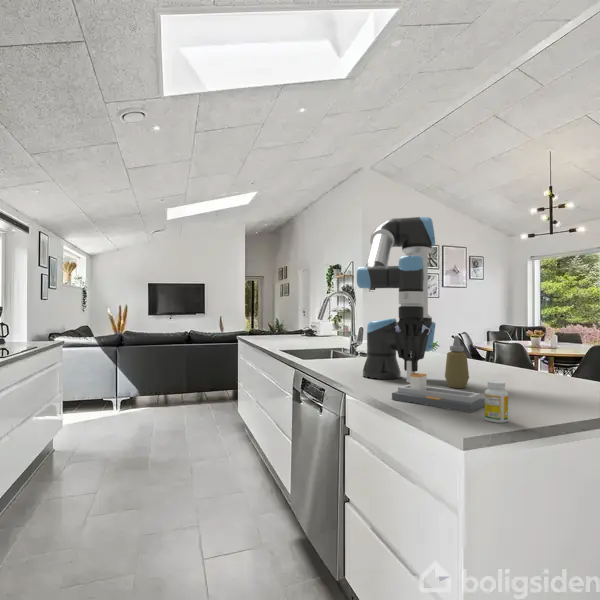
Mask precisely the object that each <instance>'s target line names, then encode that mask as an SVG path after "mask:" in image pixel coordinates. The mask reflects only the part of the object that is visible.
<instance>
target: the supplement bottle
mask: <svg viewBox="0 0 600 600" xmlns="http://www.w3.org/2000/svg"><path fill="white" fill-rule="evenodd" d="M487 387H488V388H487V389H485V391H484V398H485V406H484V420H485V421H487V422H491V423H497V424H502V423H506V422H508V420H509V392H508V391H507V390H505V389H506V382H505V381H502V380H501V381H500V380H488V381H487Z"/></svg>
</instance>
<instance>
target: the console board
mask: <svg viewBox="0 0 600 600" xmlns="http://www.w3.org/2000/svg"><path fill="white" fill-rule="evenodd" d="M481 394H482V393H479V392H472V391H463V390H456V389H450V388H449V389H448V388H440V387H433V386H427V385H426V390H420V389H413V388H410V383H409V384H406V385H401V386H398V387H397V391H393V392H391V400H392V399H394V400H393V401H398V400H401V401H400V402H404V401H407V403H411V402H413V403H412V404H417V403H420V404H419V405H423V404H427V405H426V406H429V405H432V406H431V407H435V406H438V407H437V408H441V407H443V409H447V408H449V409H448V410H454V409H456V410H455V411H460V410H462V411H461V412H466V411H467V413H472V412H474V411H477V410H479V409H481V408H483V407H485V397H484V396H483V397H482V395H481ZM476 409H477V410H476Z"/></svg>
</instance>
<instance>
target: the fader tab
mask: <svg viewBox="0 0 600 600" xmlns="http://www.w3.org/2000/svg"><path fill="white" fill-rule="evenodd" d="M409 384H410V388H413V389H420V390H426V386H427V373H422V372H421V373H420V372H415V373H414V374H410V382H409Z"/></svg>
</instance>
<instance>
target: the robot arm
mask: <svg viewBox="0 0 600 600" xmlns="http://www.w3.org/2000/svg"><path fill="white" fill-rule="evenodd" d="M433 223H434V221H433V219H432V218H431V217H429V216H413V217H400V218H397V217H396V218H390V219H387V220H385V221H383V222H381V223H380V224H379V225H378V226H377V227H375V228H374V230H373V231H372V233H371V235H370V241H369V242H370V249H369V252H368V256H367V259H366V263H365V265H364V266H359V267H358V268H357V269H356V285H357V287H358V288H359V289H368V290H370V289H398V304H399V305H400V306H398V321H397V319H396V318H395V317H393V318H386V319H378V320H371V321H369V322H368V323H367V325H366V326H367V327H366V328H367V329H366V359H365V362H364V365H363V369H362V377H364V376H365V377H364V378H366V377H370V378H369V379H373V378H377V379H376V380H396V379H401V376H402V372H401V369H400V366H399V363H398V360H397V356H398V358H399V359H403V361H404V362H403V363H404V366H403V369H404V371H405V372H406V382H407V383H410V374H414V373H417V372H418V370H419V369H418V368H419V363H418V362H419V360H423V359H424V358H425V353H426V352H431V351H432V349H433V346H434V338H435V330H436V324H437V323H436V322H434V321H433V318H432V317H433V316H431V315H430V314H429V308H428V306H429V301H428V298H429V291H428V290H429V282H428V281H429V279H428V278H429V274H428V273H429V267H428V264H429V259H428V257H429V253H431V252H432V250H433V249H432V247H434V246H436V237H435V230H434V224H433ZM392 248H401V251H402V253H403V254H405V255H402V256H400V257H399V258H398V265H389V260H390V254H391V249H392Z"/></svg>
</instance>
